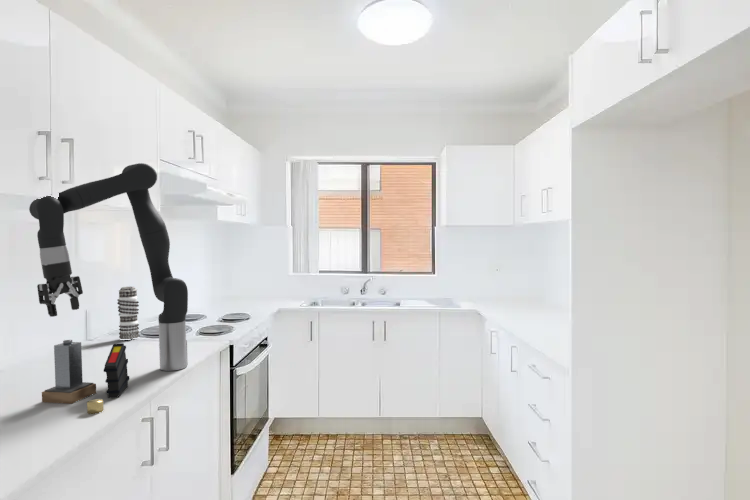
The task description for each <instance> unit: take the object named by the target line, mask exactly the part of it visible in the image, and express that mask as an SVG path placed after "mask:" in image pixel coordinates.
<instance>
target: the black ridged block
mask: <svg viewBox="0 0 750 500" xmlns="http://www.w3.org/2000/svg"><path fill="white" fill-rule="evenodd" d="M126 349H127V345H125V344H124V343H112V346H111V348H110V351H109V354H108V356H107V358H106V361H105V362H104V363H105V364H104V368H103V373H106V374H105V375H106V379H105V381H104V382H105V383H106V384H107V390H106V391H105V395H107V398H108V399H115V398H120V396H121V395H122V394H123V393H124V392H125V391H126V390H127V389H128V388H129V380H130V375H128V363H129V360H128V358H127V354H126Z"/></svg>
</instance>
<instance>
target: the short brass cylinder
mask: <svg viewBox="0 0 750 500" xmlns="http://www.w3.org/2000/svg"><path fill="white" fill-rule="evenodd" d="M104 407H105V406H104V399H103V398H95V399H90V400H88V401H86V414H87V413H88V415H96V414H95V413H98V414H100V413H99V412H101V413H102V411H103V410H104V411H105V409H104ZM104 411H103V412H104Z"/></svg>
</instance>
